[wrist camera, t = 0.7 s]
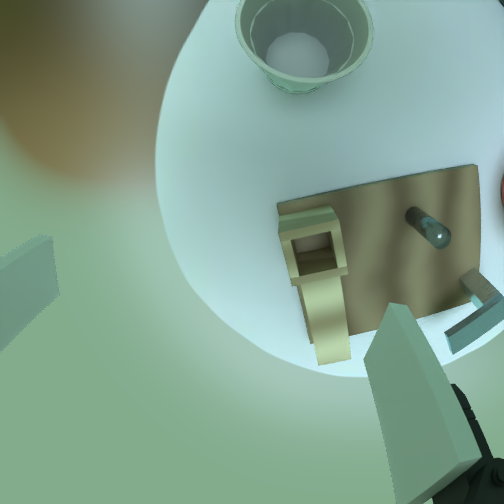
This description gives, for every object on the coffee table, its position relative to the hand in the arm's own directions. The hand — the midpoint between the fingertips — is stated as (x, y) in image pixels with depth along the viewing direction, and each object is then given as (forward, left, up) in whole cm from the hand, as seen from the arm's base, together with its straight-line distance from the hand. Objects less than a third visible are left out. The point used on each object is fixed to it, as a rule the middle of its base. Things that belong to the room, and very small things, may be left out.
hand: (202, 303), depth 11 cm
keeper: (-20, +17, -19) cm, 33 cm away
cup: (-7, -11, -21) cm, 25 cm away
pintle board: (-13, +10, -21) cm, 26 cm away
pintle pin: (-15, +6, -21) cm, 26 cm away
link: (-4, +10, -19) cm, 23 cm away
